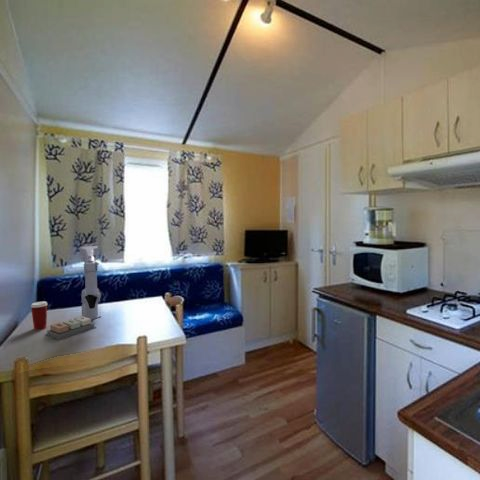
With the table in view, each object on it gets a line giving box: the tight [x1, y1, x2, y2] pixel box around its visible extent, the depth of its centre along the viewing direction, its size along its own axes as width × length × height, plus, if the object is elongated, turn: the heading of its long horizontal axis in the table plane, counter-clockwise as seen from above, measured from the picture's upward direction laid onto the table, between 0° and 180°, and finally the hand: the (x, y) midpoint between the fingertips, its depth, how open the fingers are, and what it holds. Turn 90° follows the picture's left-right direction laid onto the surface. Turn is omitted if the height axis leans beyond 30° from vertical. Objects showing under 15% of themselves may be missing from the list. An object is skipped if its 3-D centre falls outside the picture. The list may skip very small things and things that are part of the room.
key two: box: [62, 319, 80, 329], centre depth 153 cm, size 9×4×3 cm, turn 58°
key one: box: [73, 315, 92, 326], centre depth 159 cm, size 9×4×3 cm, turn 58°
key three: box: [49, 322, 69, 333], centre depth 148 cm, size 9×4×3 cm, turn 58°
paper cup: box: [30, 301, 48, 331], centre depth 158 cm, size 8×8×14 cm
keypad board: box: [44, 322, 97, 341], centre depth 154 cm, size 13×20×2 cm, turn 148°
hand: (92, 308), depth 160 cm, fingers closed
